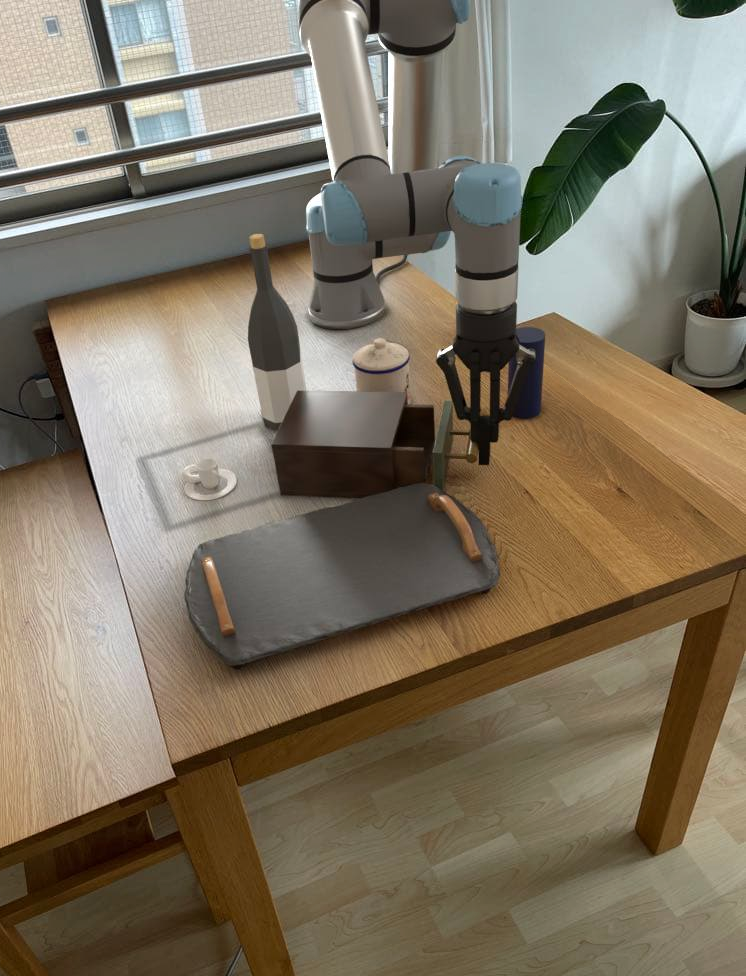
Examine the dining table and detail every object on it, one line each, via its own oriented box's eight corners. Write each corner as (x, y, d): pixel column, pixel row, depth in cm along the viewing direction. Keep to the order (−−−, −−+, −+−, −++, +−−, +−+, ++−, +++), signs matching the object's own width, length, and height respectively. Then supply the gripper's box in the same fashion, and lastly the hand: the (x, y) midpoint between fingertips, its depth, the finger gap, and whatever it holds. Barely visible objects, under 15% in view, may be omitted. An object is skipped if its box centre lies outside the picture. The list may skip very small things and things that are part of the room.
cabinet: (410, 442, 125) (407, 392, 120) (394, 500, 114) (390, 448, 109) (304, 439, 129) (297, 390, 123) (280, 495, 118) (270, 444, 113)
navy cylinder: (507, 401, 132) (510, 326, 123) (541, 402, 130) (545, 326, 122) (506, 418, 128) (508, 342, 119) (540, 419, 127) (545, 342, 118)
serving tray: (208, 691, 91) (196, 653, 87) (176, 565, 108) (165, 529, 104) (523, 593, 98) (526, 554, 94) (446, 489, 115) (445, 453, 111)
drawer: (482, 441, 122) (483, 401, 117) (475, 496, 112) (475, 454, 107) (352, 437, 126) (347, 398, 122) (333, 489, 116) (328, 449, 112)
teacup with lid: (418, 413, 131) (415, 347, 124) (363, 424, 131) (357, 358, 123) (399, 379, 141) (395, 316, 133) (348, 389, 140) (341, 326, 133)
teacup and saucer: (178, 478, 125) (172, 456, 122) (227, 463, 127) (222, 441, 124) (191, 509, 118) (185, 486, 116) (244, 492, 120) (238, 470, 118)
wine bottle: (256, 414, 137) (221, 234, 118) (300, 400, 139) (273, 221, 120) (272, 436, 131) (238, 251, 112) (318, 422, 133) (292, 237, 114)
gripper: (540, 288, 102) (532, 446, 117) (437, 290, 105) (441, 443, 120) (539, 314, 97) (530, 476, 112) (430, 315, 100) (435, 473, 114)
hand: (484, 459), depth 116 cm, fingers closed
